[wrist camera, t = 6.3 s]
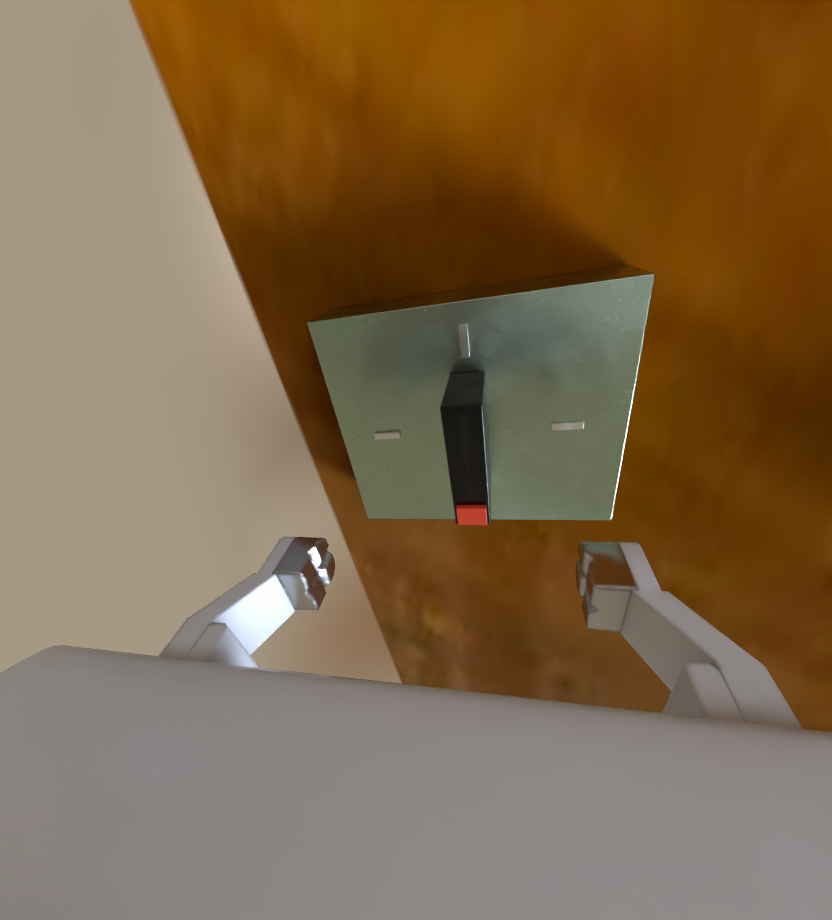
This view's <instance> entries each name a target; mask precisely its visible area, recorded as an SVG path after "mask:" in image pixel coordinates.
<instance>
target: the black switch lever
mask: <svg viewBox="0 0 832 920" xmlns="http://www.w3.org/2000/svg"><path fill="white" fill-rule="evenodd" d="M440 413H441V420H442V427H443V434H444V441H445V449H446V456H447V463H448V470H449V477H450V484H451V492H452V499H453V506H454V513H455V520H456V524H458V525H487V524H490V523H491V480H492V478H491V462H490V446H489V430H488V414H487V398H486V382H485V372H484V371H481V372H470V373H460V374H450V375H449V378H448V382H447V385H446V389H445V392H444V396H443V399H442V402H441V406H440Z"/></svg>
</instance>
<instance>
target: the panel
mask: <svg viewBox="0 0 832 920" xmlns="http://www.w3.org/2000/svg"><path fill="white" fill-rule="evenodd" d="M654 277H655V274H654V273H651V272H648V271H646V270H643V269H640V268H637V267H634V266H631V265H623V266H617V267H610V268H603V269H596V270H590V271H583V272H576V273H570V274H563V275H556V276H549V277H543V278H536V279H529V280H523V281H516V282H509V283H502V284H496V285H489V286H482V287H475V288H469V289H462V290H455V291H449V292H442V293H435V294H428V295H422V296H415V297H408V298H402V299H395V300H388V301H381V302H375V303H368V304H361V305H355V306H348V307H341V308H334V309H331V310H329V311H327V312H325V313H324V314H322V315H320V316H318V317H316V318H315V319H313V320H311V321H309V322H308V323H307V324H308V327H309V330H310V334H311V337H312V340H313V343H314V346H315V350H316V353H317V356H318V359H319V362H320V366H321V369H322V372H323V375H324V378H325V382H326V385H327V388H328V391H329V394H330V398H331V401H332V404H333V407H334V411H335V414H336V417H337V420H338V423H339V427H340V430H341V433H342V436H343V439H344V443H345V446H346V449H347V452H348V455H349V459H350V462H351V465H352V468H353V471H354V475H355V478H356V481H357V484H358V487H359V491H360V494H361V497H362V500H363V504H364V507H365V510H366V513H367V516H368V519H455V513H454V506H453V499H452V492H451V484H450V477H449V470H448V463H447V456H446V449H445V441H444V434H443V427H442V420H441V413H440V406H441V402H442V399H443V396H444V392H445V389H446V385H447V382H448V378H449V375H450V374H460V373H470V372H481V371H484V372H485V382H486V398H487V414H488V430H489V446H490V462H491V478H492V480H491V519H494V520H611V519H612V514H613V508H614V502H615V497H616V491H617V485H618V480H619V474H620V468H621V463H622V457H623V452H624V446H625V440H626V435H627V429H628V423H629V418H630V412H631V406H632V401H633V395H634V389H635V384H636V378H637V373H638V367H639V361H640V356H641V350H642V344H643V339H644V333H645V327H646V322H647V316H648V310H649V305H650V299H651V294H652V288H653V282H654Z"/></svg>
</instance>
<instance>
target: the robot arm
mask: <svg viewBox="0 0 832 920" xmlns="http://www.w3.org/2000/svg"><path fill="white" fill-rule="evenodd" d="M327 548H328V543H327V541H326V539H324V538H310V537H283V538H281V539H280V540H279V542H278V543H277V545H276V546H275V548H274V549H273V551H272V552H271V554H270V555H269V557H268V558H267V560H266V561H265V563H264V564H263V566H262V567H261V569H260V570H259V572H258V573H255V574H252V575H251V576H249V577H248V578H246V579H245V580H243V581H242V582H240V583H239V584H238V585H236V586H235V587H233V588H232V589H230V590H229V591H227V592H226V593H224V594H223V595H221V596H220V597H218V598H217V599H215V600H214V601H212V602H211V603H210V604H208V605H207V606H205V607H204V608H202V609H201V610H199V611H198V612H196V613H195V614H193V615H192V616H191V617H189V618H187V620H186V621H185V622H184V624H183V625H182V626H181V627H180V629H179V630H178V631H177V633H176V634H175V635H174V637H173V638H172V639H171V641H170V642H169V643H168V645H167V646H166V647H165V648H164V650H163V651H162V652H161V654H160V655H159V656H151V655H142V654H133V653H124V652H115V651H107V650H98V649H90V648H81V647H73V646H63V645H60V646H53V647H49V648H46V649H44V650H42V651H40V652H38V653H36V654H34V655H32V656H30V657H28V658H26V659H25V660H22V661H21V662H19V663H17V664H15V665H13V666H12V667H10V668H8V669H6V670H5V671H3V672H1V673H0V920H832V732H826V731H817V730H808V729H803V728H802V727H801V725H800V723H799V722H798V720H797V718H796V717H795V715H794V713H793V712H792V710H791V709H790V707H789V705H788V704H787V702H786V700H785V699H784V697H783V695H782V694H781V692H780V690H779V689H778V687H777V686H776V684H775V682H774V681H773V679H772V677H771V676H770V674H769V672H768V671H767V669H766V668H765V666H764V665H762V664H761V663H760V662H759V661H757V660H756V659H755V658H753V657H752V656H751V655H749V654H748V653H747V652H746V651H744V650H743V649H742V648H740V647H739V646H738V645H736V644H735V643H734V642H733V641H731V640H730V639H729V638H727V637H726V636H725V635H723V634H722V633H721V632H720V631H718V630H717V629H716V628H714V627H713V626H712V625H711V624H709V623H708V622H707V621H705V620H704V619H703V618H701V617H700V616H699V615H698V614H696V613H695V612H694V611H692V610H691V609H690V608H688V607H687V606H686V605H685V604H683V603H682V602H681V601H679V600H678V599H677V598H675V597H674V596H673V595H672V594H670V593H669V592H666V591H661V589H660V587H659V585H658V582H657V580H656V578H655V576H654V574H653V572H652V570H651V567H650V565H649V563H648V561H647V559H646V557H645V555H644V552H643V550H642V548H641V546H640V545H639V544H638V543H637V542H617V543H616V542H580V543H579V546H578V554H579V558H580V559H579V560H578V561H576V582H577V588H578V592H579V594H580V595H581V596H582V597H583V604H582V609H583V613H584V617H585V621H586V626H587V629H597V630H607V631H618V632H621V635H622V636H623V637H624V638H625V639H626V640H627V641H628V642H629V644H630V645H631V646H632V647H633V648H634V649H635V650H636V652H637V653H638V654H639V655H640V656H641V657H642V658H643V660H644V661H645V662H646V663H647V664H648V665H649V666H650V667H651V669H652V670H653V671H654V672H655V673H656V674H657V675H658V677H659V678H660V679H661V680H662V681H663V682H664V683H665V685H666V686H667V687H668V688H669V689H670V690H671V691H672V692H671V694H670V696H669V698H668V701H667V703H666V705H665V707H664V709H663V711H662V713H657V712H648V711H639V710H630V709H621V708H613V707H604V706H595V705H586V704H577V703H568V702H559V701H550V700H541V699H533V698H524V697H515V696H506V695H497V694H488V693H480V692H471V691H462V690H453V689H444V688H435V687H427V686H418V685H409V684H400V683H391V682H382V681H372V680H364V679H354V678H346V677H337V676H328V675H319V674H311V673H302V672H293V671H284V670H275V669H266V668H258V666H257V664H256V663H255V661H254V660H253V659H252V657H251V656H250V655H251V654H252V653H253V652H254V651H255V650H256V649H257V648H258V647H259V646H260V645H261V644H262V643H263V642H264V641H265V640H266V639H267V638H268V637H269V636H270V635H271V634H272V633H273V632H274V631H275V630H276V629H277V628H278V627H279V626H280V625H282V624H283V623H284V621H285V620H287V619H288V618H289V617H290V616H291V615H292V614H293V613H294V612H295V609H296V610H319V608H320V605H321V603H322V601H323V599H324V596H325V594H326V592H325V589H324V587H325V586H326V585H328V584H329V583H330V582H331V580H332V578H333V575H334V570H335V562H334V558H333V555H332V554H331V553H330V552H328V551H327Z"/></svg>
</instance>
